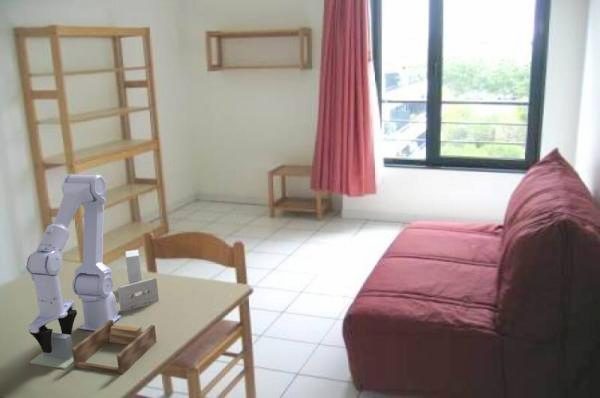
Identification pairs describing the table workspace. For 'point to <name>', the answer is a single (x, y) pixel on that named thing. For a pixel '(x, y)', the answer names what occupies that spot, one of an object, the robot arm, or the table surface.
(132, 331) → the offcut
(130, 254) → the skincare box
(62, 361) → the mat
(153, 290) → the cassette
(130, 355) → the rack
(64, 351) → the grey rectangular box
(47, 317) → the robot arm
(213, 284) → the table surface
